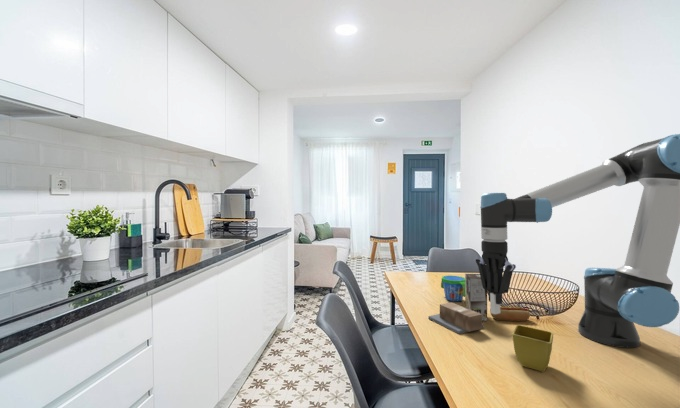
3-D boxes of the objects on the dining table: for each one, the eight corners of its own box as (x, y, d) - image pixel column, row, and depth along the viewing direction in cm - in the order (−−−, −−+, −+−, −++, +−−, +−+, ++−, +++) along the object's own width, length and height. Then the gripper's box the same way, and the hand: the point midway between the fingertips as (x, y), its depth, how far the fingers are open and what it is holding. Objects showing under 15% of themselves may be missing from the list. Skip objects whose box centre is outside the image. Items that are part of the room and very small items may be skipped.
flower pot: (517, 354, 87) (517, 323, 87) (553, 364, 81) (553, 331, 81) (512, 366, 80) (512, 333, 80) (551, 378, 74) (551, 343, 74)
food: (493, 321, 111) (493, 308, 111) (488, 316, 117) (488, 303, 117) (532, 323, 110) (532, 310, 110) (525, 317, 115) (525, 305, 115)
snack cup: (434, 295, 143) (434, 274, 143) (453, 293, 146) (453, 273, 146) (453, 306, 128) (453, 282, 128) (474, 304, 131) (474, 281, 131)
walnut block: (481, 314, 102) (451, 302, 115) (469, 316, 100) (439, 304, 112) (481, 328, 102) (451, 314, 115) (469, 331, 100) (439, 317, 112)
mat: (483, 327, 105) (483, 325, 105) (459, 334, 100) (459, 331, 100) (451, 313, 119) (451, 311, 119) (428, 318, 114) (428, 316, 114)
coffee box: (488, 321, 111) (487, 278, 111) (470, 319, 113) (469, 278, 113) (481, 312, 120) (481, 273, 120) (464, 311, 121) (464, 272, 122)
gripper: (469, 239, 99) (470, 308, 99) (505, 243, 87) (506, 322, 87) (484, 237, 102) (485, 305, 102) (521, 241, 90) (522, 317, 90)
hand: (495, 312), depth 95 cm, fingers closed
